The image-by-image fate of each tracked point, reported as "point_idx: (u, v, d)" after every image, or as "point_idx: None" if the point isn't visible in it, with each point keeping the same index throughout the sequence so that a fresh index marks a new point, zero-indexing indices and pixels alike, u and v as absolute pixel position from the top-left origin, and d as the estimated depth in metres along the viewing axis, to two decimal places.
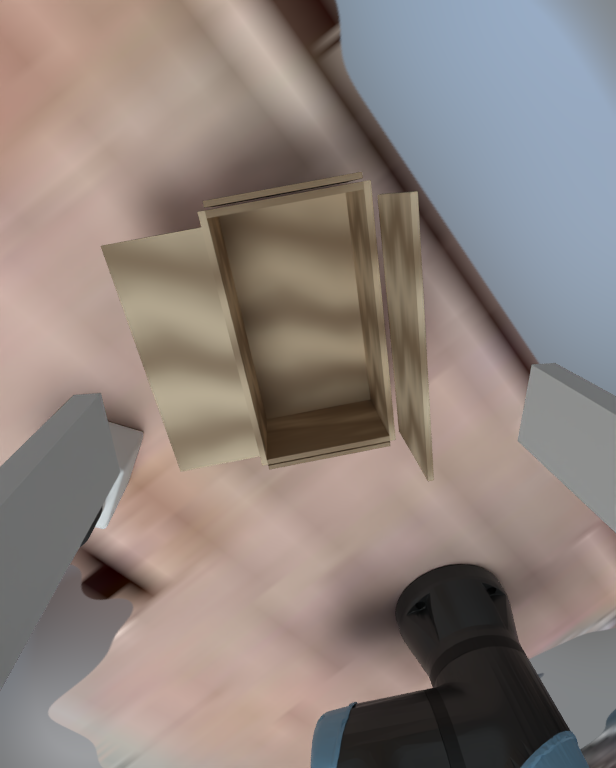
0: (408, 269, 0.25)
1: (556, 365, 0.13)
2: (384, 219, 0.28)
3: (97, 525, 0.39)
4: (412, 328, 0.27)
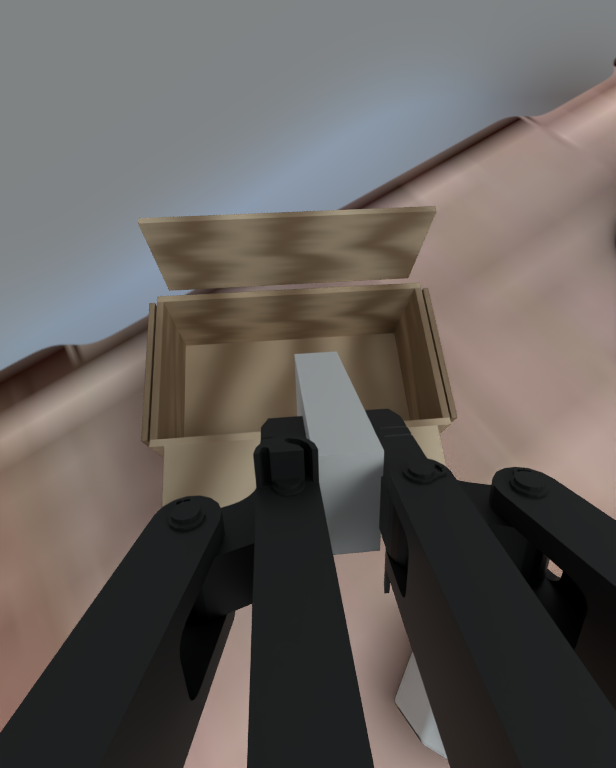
0: (209, 233, 0.27)
1: (334, 353, 0.14)
2: (186, 280, 0.32)
3: None
4: (267, 232, 0.28)
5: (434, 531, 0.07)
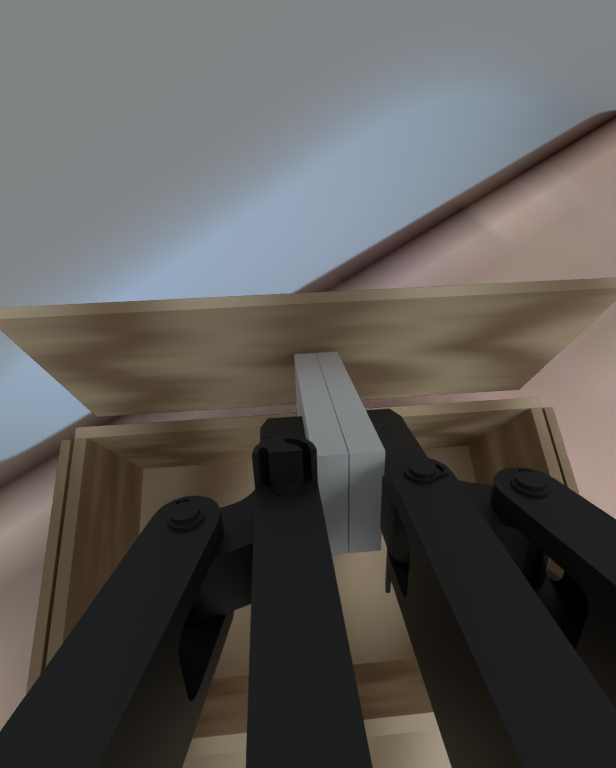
0: (152, 334, 0.13)
1: (335, 353, 0.14)
2: (123, 402, 0.17)
3: None
4: (272, 330, 0.13)
5: (435, 531, 0.07)
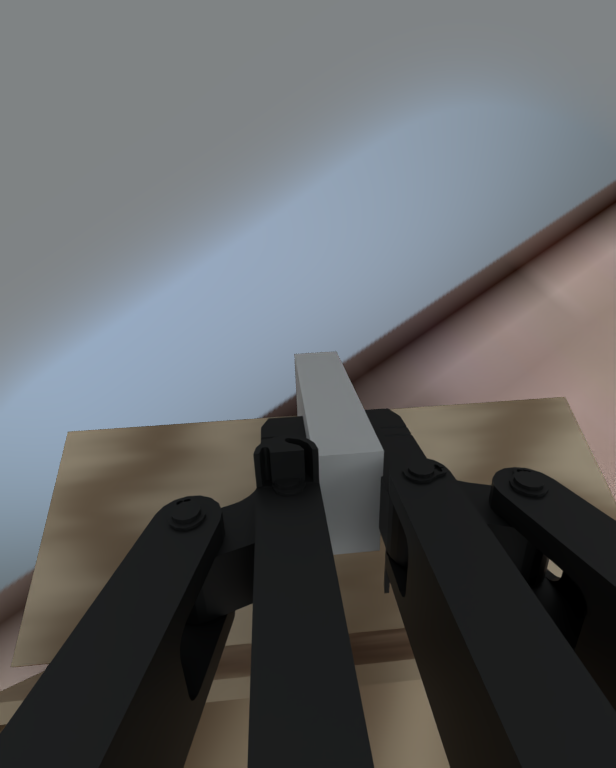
0: (180, 453, 0.15)
1: (334, 353, 0.14)
2: (78, 611, 0.12)
3: None
4: None
5: (434, 531, 0.07)
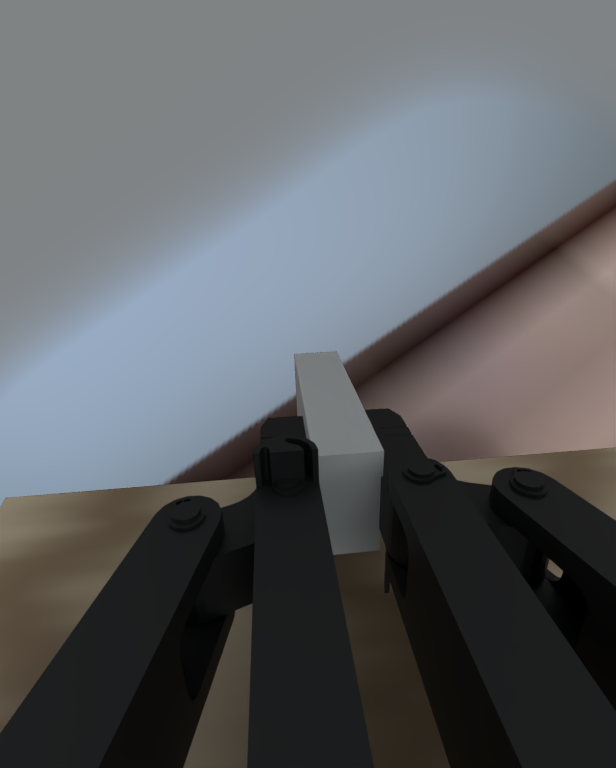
0: (142, 521, 0.12)
1: (334, 353, 0.14)
2: None
3: None
4: None
5: (434, 531, 0.07)
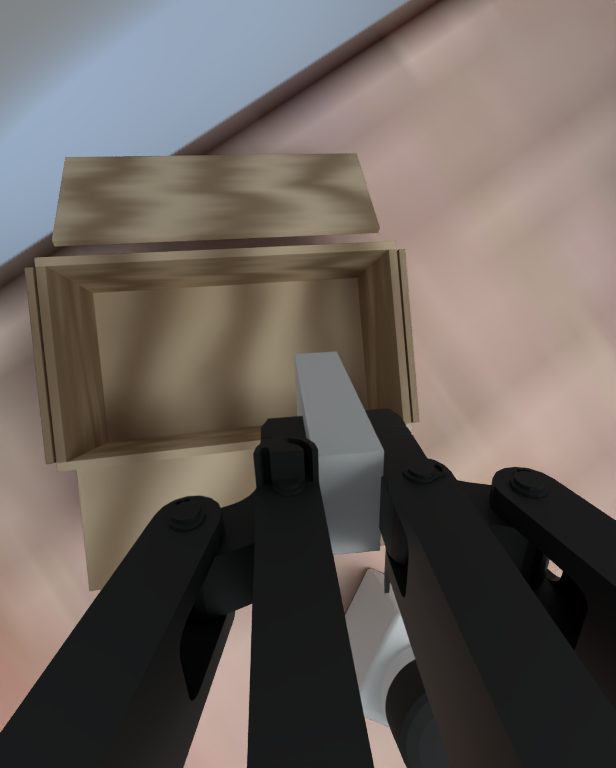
0: (133, 168, 0.27)
1: (335, 353, 0.14)
2: (83, 224, 0.24)
3: None
4: (194, 168, 0.27)
5: (434, 531, 0.07)
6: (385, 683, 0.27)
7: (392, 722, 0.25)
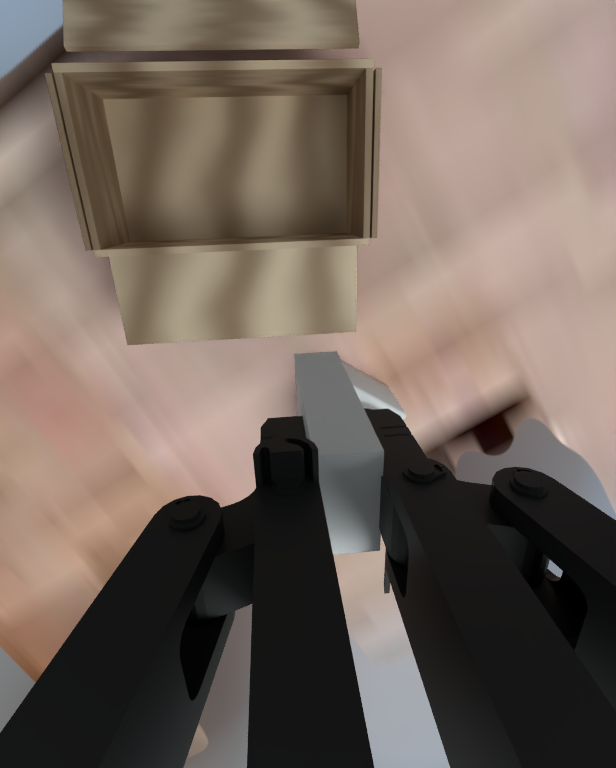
0: None
1: (334, 353, 0.14)
2: (88, 28, 0.27)
3: None
4: None
5: (434, 531, 0.07)
6: None
7: None
